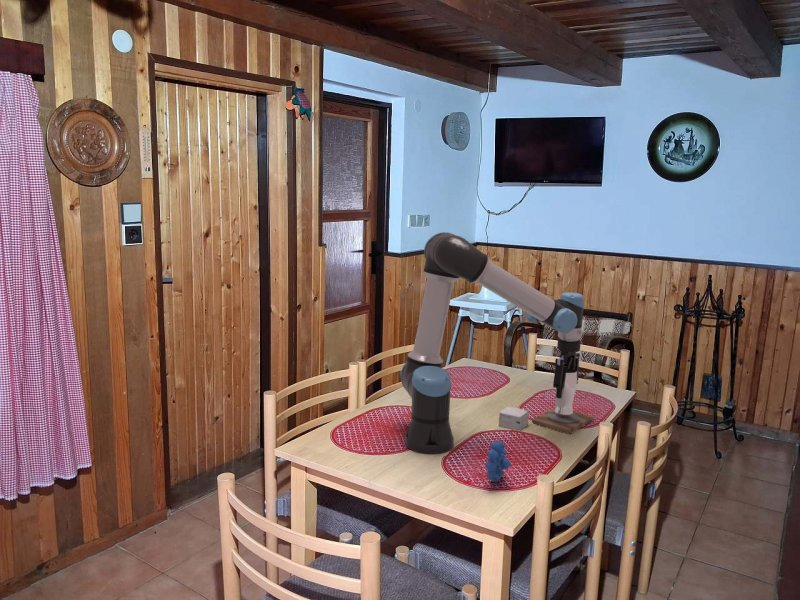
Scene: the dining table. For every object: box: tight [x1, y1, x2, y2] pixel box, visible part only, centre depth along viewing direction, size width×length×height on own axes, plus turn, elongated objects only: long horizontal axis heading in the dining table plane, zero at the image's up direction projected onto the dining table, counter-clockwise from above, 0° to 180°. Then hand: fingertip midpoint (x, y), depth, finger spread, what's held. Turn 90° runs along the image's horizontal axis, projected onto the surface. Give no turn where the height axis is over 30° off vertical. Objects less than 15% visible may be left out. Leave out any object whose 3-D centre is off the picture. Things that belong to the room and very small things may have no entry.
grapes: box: [484, 440, 512, 483], centre depth 178 cm, size 12×7×12 cm, turn 153°
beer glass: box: [554, 369, 578, 415], centre depth 225 cm, size 7×7×15 cm
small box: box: [498, 405, 530, 431], centre depth 223 cm, size 8×8×5 cm
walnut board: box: [531, 407, 595, 435], centre depth 227 cm, size 18×14×2 cm
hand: (564, 404), depth 226 cm, fingers closed on beer glass, 7 cm apart
